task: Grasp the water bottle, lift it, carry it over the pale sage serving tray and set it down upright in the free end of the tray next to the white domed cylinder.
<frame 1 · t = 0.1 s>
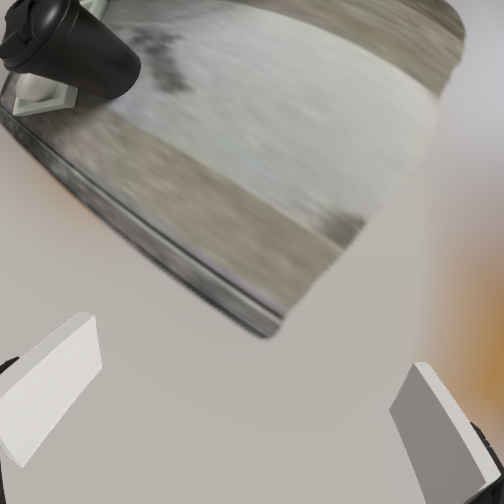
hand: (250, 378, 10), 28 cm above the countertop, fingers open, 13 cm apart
water bottle: (117, 74, 33), on the countertop
tray: (60, 57, 31), on the countertop
white domed cylinder: (47, 87, 32), point 1 cm above the countertop, touching tray
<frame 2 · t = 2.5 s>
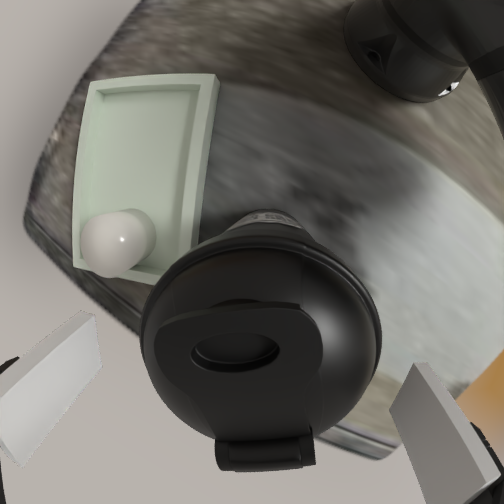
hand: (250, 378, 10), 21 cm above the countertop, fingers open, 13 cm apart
water bottle: (268, 248, 30), on the countertop
tray: (140, 176, 29), on the countertop
white domed cylinder: (132, 235, 29), point 1 cm above the countertop, touching tray
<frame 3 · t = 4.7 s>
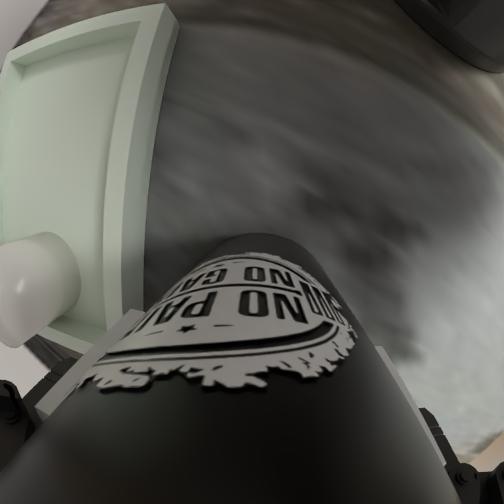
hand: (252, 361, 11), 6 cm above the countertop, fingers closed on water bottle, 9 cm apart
water bottle: (259, 301, 17), on the countertop, touching gripper
tray: (59, 180, 16), on the countertop
white domed cylinder: (51, 272, 16), point 1 cm above the countertop, touching tray
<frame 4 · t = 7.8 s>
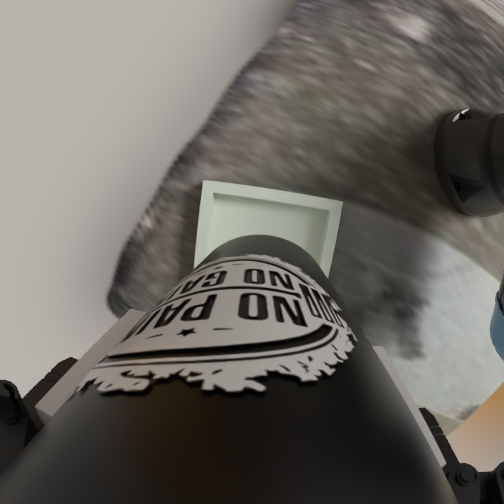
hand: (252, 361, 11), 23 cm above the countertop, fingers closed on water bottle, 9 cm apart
water bottle: (259, 302, 17), point 17 cm above the countertop, touching gripper
tray: (259, 279, 34), on the countertop
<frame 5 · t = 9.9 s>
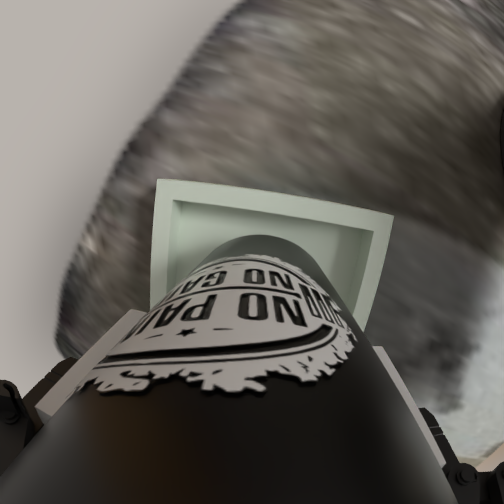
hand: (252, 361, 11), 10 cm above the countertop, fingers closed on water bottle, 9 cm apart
water bottle: (259, 302, 17), point 4 cm above the countertop, touching gripper
tray: (254, 333, 22), on the countertop
when the fingers open (8 cm above the countertop, at t = 11.3 s): water bottle drops 1 cm, resting on tray.
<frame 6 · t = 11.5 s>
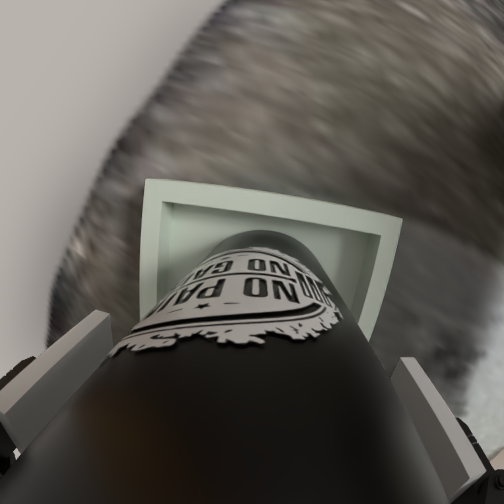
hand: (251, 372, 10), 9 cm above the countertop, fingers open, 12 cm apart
water bottle: (261, 293, 18), point 1 cm above the countertop, touching tray
tray: (251, 343, 20), on the countertop
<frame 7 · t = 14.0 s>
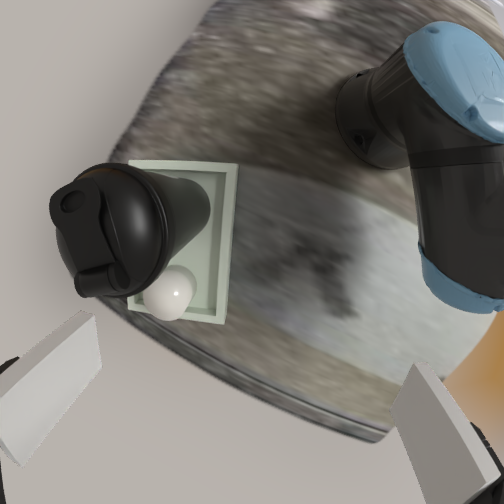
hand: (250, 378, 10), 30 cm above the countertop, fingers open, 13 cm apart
water bottle: (181, 208, 38), point 1 cm above the countertop, touching tray
tray: (180, 239, 40), on the countertop
white domed cylinder: (177, 284, 40), point 1 cm above the countertop, touching tray
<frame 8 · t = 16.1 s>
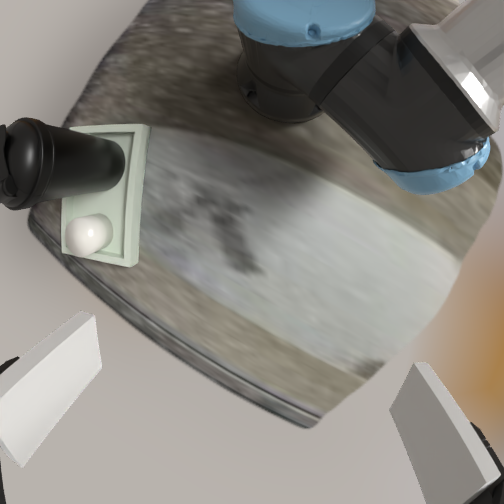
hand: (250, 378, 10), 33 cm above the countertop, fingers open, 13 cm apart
water bottle: (104, 165, 40), point 1 cm above the countertop, touching tray
tray: (104, 192, 42), on the countertop
white domed cylinder: (99, 231, 42), point 1 cm above the countertop, touching tray
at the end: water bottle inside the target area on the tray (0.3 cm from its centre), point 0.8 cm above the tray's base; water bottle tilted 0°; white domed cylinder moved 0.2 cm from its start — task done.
